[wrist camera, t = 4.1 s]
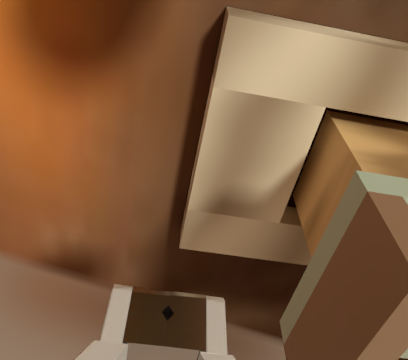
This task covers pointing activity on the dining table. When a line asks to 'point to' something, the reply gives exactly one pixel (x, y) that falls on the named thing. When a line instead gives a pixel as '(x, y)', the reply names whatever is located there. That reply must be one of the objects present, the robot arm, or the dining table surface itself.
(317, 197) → the block
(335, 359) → the cover
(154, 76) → the dining table surface
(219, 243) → the beige stepped box
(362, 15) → the dining table surface
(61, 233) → the dining table surface
